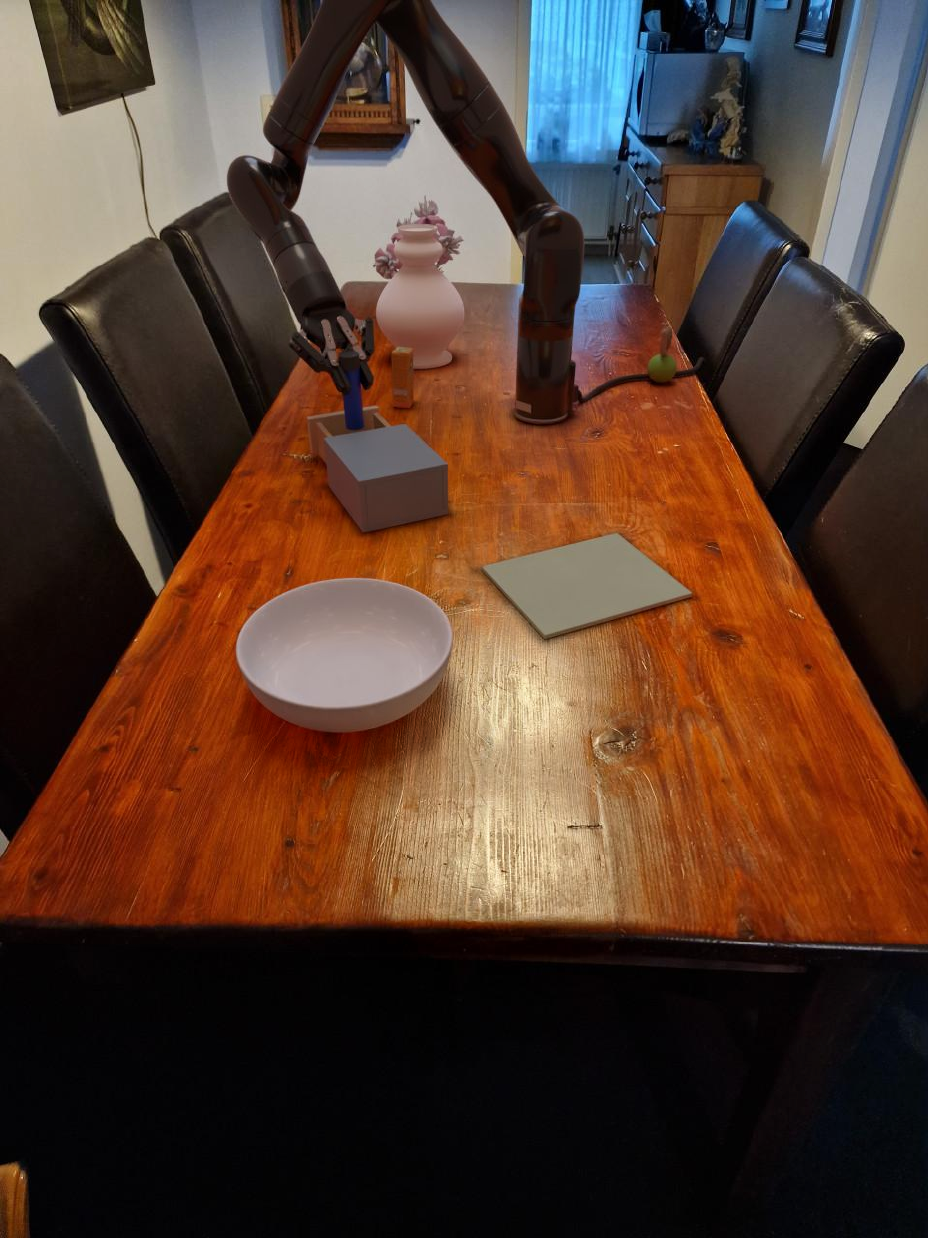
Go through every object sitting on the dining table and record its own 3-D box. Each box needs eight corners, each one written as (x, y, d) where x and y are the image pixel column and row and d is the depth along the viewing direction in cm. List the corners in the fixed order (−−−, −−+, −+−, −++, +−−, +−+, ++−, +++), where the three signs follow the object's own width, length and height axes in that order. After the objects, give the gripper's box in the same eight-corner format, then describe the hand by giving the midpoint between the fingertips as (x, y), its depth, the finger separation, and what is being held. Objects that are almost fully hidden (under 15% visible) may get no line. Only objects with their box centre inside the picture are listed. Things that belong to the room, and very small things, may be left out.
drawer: (303, 442, 132) (299, 407, 129) (369, 430, 136) (367, 396, 133) (338, 488, 118) (334, 451, 115) (411, 474, 122) (410, 437, 119)
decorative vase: (481, 362, 168) (482, 229, 153) (407, 378, 159) (401, 240, 145) (434, 341, 180) (431, 216, 165) (363, 355, 171) (354, 225, 157)
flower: (343, 302, 201) (355, 207, 180) (413, 277, 212) (431, 185, 191) (394, 353, 195) (412, 262, 175) (463, 325, 206) (487, 236, 186)
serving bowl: (272, 790, 72) (261, 732, 68) (229, 656, 87) (217, 603, 84) (487, 725, 79) (488, 669, 75) (411, 611, 94) (408, 560, 90)
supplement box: (410, 408, 146) (408, 352, 141) (392, 407, 147) (389, 351, 141) (415, 402, 149) (413, 347, 143) (397, 401, 150) (394, 345, 144)
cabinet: (328, 486, 121) (323, 437, 117) (407, 470, 125) (405, 423, 121) (363, 533, 109) (358, 481, 105) (448, 514, 114) (448, 463, 109)
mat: (616, 536, 109) (617, 532, 108) (691, 597, 97) (692, 592, 96) (481, 570, 102) (481, 565, 101) (544, 639, 90) (544, 635, 89)
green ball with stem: (642, 386, 156) (650, 321, 149) (648, 375, 161) (657, 312, 154) (670, 389, 154) (680, 324, 147) (676, 379, 159) (686, 315, 152)
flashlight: (361, 421, 125) (355, 349, 119) (367, 428, 123) (361, 355, 116) (342, 425, 124) (335, 352, 118) (348, 431, 122) (341, 358, 115)
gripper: (270, 276, 113) (322, 387, 112) (358, 262, 119) (408, 366, 119) (259, 308, 119) (309, 413, 118) (343, 293, 126) (390, 392, 125)
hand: (358, 389), depth 118 cm, fingers closed on flashlight, 3 cm apart
